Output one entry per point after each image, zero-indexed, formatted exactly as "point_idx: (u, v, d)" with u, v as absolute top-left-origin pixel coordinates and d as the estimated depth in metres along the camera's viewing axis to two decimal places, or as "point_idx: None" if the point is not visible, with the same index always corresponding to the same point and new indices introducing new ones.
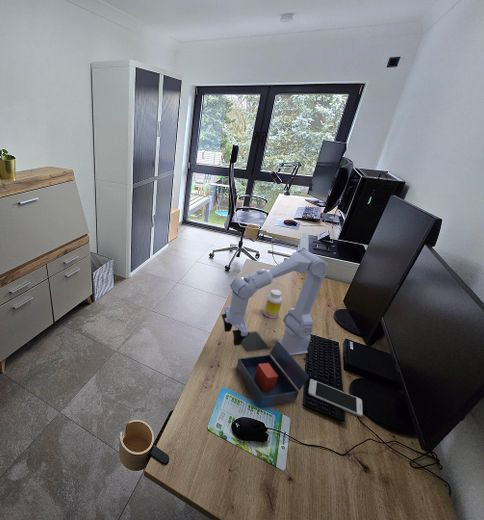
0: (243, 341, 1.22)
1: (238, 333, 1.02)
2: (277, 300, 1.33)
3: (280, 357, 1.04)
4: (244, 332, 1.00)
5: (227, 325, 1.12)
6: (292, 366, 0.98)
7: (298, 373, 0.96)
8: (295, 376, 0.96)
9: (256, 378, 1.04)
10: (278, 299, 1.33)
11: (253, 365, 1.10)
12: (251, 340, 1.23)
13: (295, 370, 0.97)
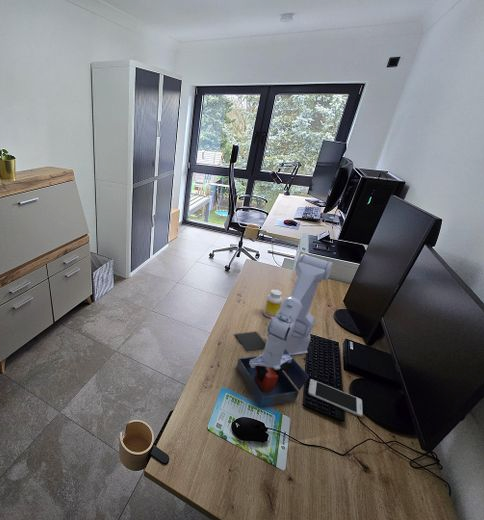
0: (243, 341, 1.22)
1: (283, 365, 0.98)
2: (277, 300, 1.33)
3: None
4: None
5: None
6: (292, 366, 0.98)
7: (298, 373, 0.96)
8: (295, 376, 0.96)
9: (256, 378, 1.04)
10: (278, 299, 1.33)
11: None
12: (251, 340, 1.23)
13: (295, 370, 0.97)
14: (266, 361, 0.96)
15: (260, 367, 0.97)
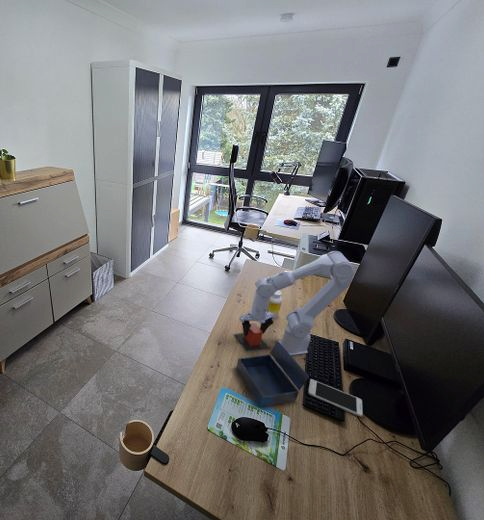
0: (243, 341, 1.22)
1: (271, 320, 1.17)
2: (277, 300, 1.33)
3: (280, 357, 1.04)
4: None
5: None
6: (292, 366, 0.98)
7: (298, 373, 0.96)
8: (295, 376, 0.96)
9: (245, 336, 1.23)
10: (278, 299, 1.33)
11: (253, 365, 1.10)
12: None
13: (295, 370, 0.97)
14: (253, 316, 1.15)
15: (245, 322, 1.16)
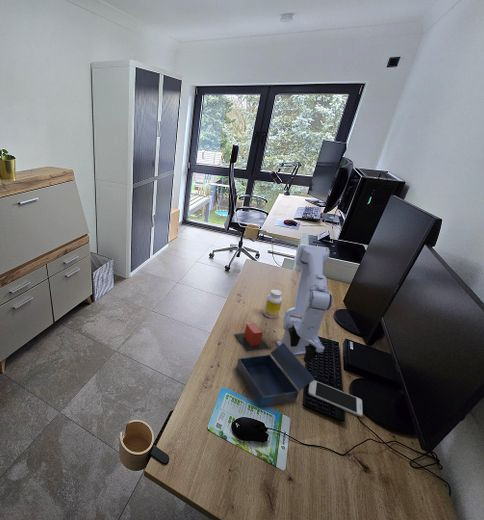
0: (243, 341, 1.22)
1: None
2: (277, 300, 1.33)
3: (283, 358, 1.04)
4: None
5: None
6: (296, 367, 0.99)
7: (302, 374, 0.96)
8: (298, 377, 0.97)
9: (245, 336, 1.23)
10: (278, 299, 1.33)
11: (253, 365, 1.10)
12: None
13: (299, 371, 0.98)
14: (315, 336, 0.97)
15: None
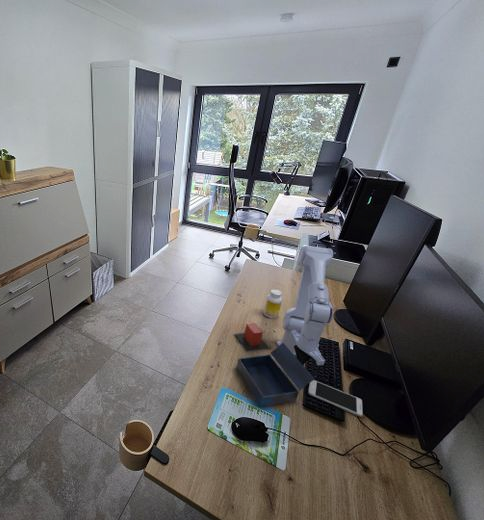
0: (243, 341, 1.22)
1: None
2: (277, 300, 1.33)
3: (282, 358, 1.04)
4: None
5: None
6: (296, 367, 0.99)
7: (302, 374, 0.96)
8: (297, 377, 0.97)
9: (245, 336, 1.23)
10: (278, 299, 1.33)
11: (253, 365, 1.10)
12: None
13: (299, 371, 0.97)
14: (315, 348, 0.95)
15: None
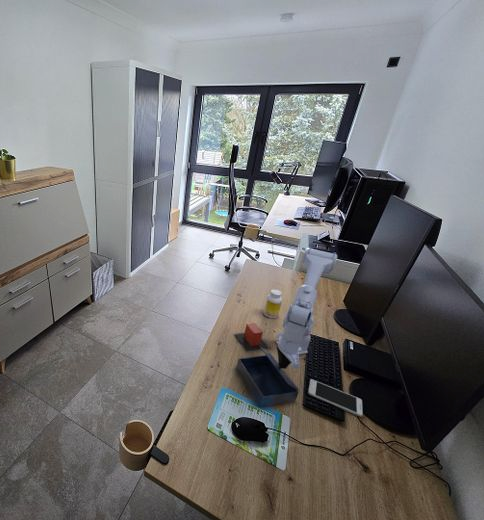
0: (243, 341, 1.22)
1: None
2: (277, 300, 1.33)
3: None
4: None
5: None
6: None
7: None
8: None
9: (245, 336, 1.23)
10: (278, 299, 1.33)
11: (253, 365, 1.10)
12: None
13: None
14: (295, 352, 0.94)
15: None
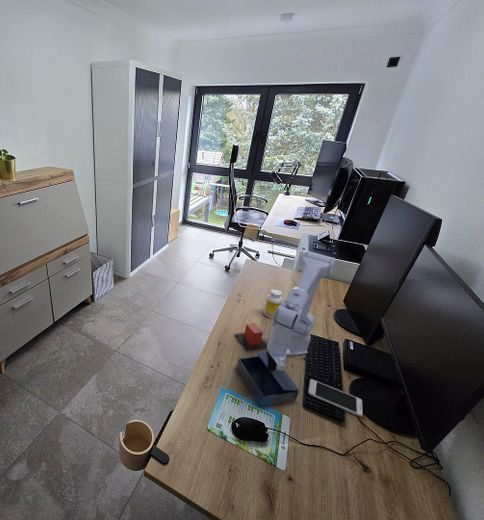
0: (243, 341, 1.22)
1: None
2: (277, 300, 1.33)
3: None
4: None
5: None
6: None
7: None
8: None
9: (245, 336, 1.23)
10: (278, 299, 1.33)
11: (253, 365, 1.10)
12: None
13: None
14: (282, 354, 0.93)
15: None
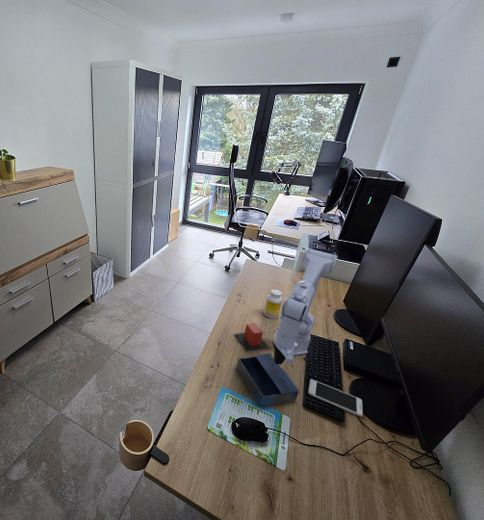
0: (243, 341, 1.22)
1: None
2: (277, 300, 1.33)
3: None
4: None
5: None
6: None
7: None
8: None
9: (245, 336, 1.23)
10: (278, 299, 1.33)
11: (253, 365, 1.10)
12: None
13: None
14: (290, 347, 0.92)
15: None
